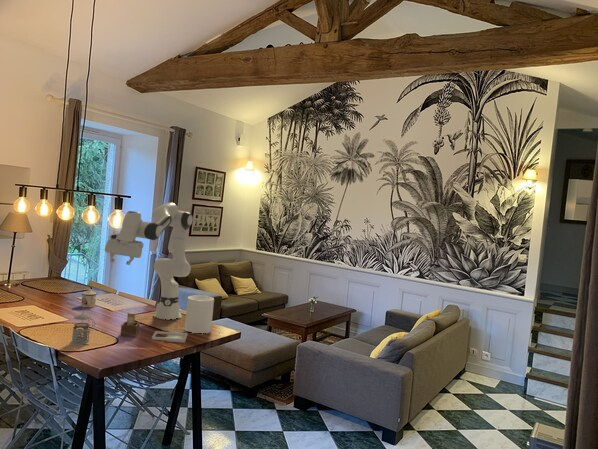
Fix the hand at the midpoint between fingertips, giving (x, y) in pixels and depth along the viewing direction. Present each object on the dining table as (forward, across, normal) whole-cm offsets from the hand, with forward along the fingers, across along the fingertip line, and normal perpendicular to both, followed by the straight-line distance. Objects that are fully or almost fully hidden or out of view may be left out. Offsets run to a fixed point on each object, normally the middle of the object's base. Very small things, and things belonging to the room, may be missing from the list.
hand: (119, 263), depth 239 cm
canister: (+28, -37, -45) cm, 65 cm away
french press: (+44, +6, +3) cm, 45 cm away
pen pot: (+37, -8, -17) cm, 42 cm away
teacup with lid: (+27, +47, -63) cm, 83 cm away
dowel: (+37, -8, -16) cm, 41 cm away
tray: (+35, -29, -22) cm, 51 cm away
